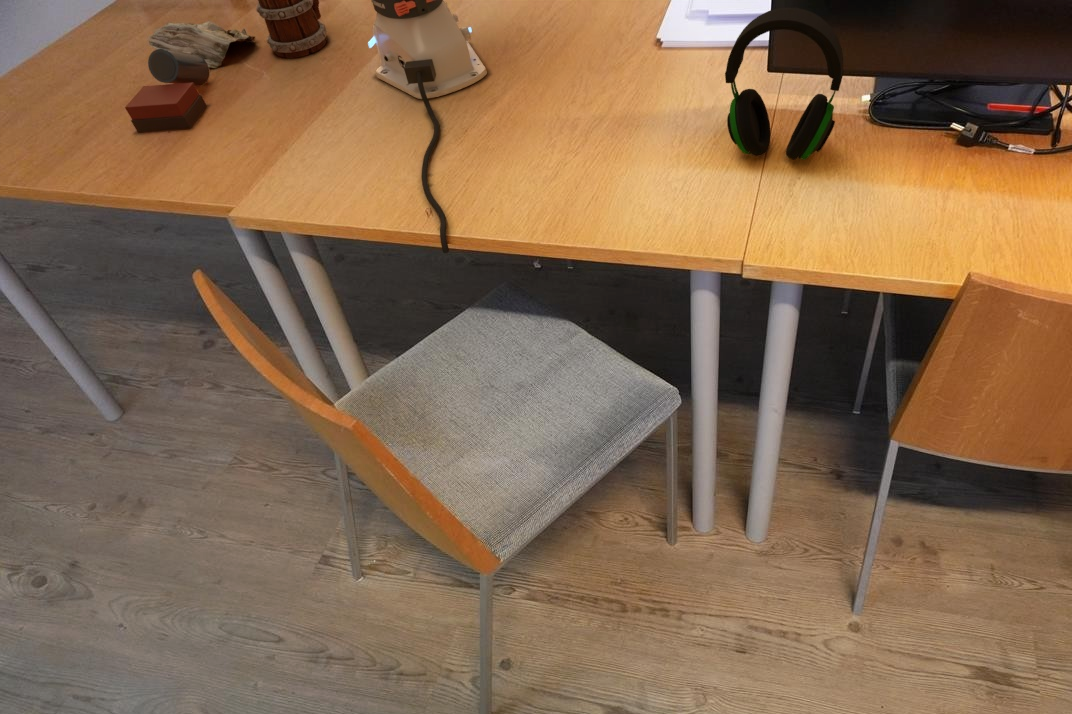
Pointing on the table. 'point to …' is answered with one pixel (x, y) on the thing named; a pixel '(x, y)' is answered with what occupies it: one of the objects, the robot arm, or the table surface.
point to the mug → (293, 26)
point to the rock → (198, 40)
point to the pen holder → (178, 67)
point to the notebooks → (166, 107)
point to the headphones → (749, 109)
